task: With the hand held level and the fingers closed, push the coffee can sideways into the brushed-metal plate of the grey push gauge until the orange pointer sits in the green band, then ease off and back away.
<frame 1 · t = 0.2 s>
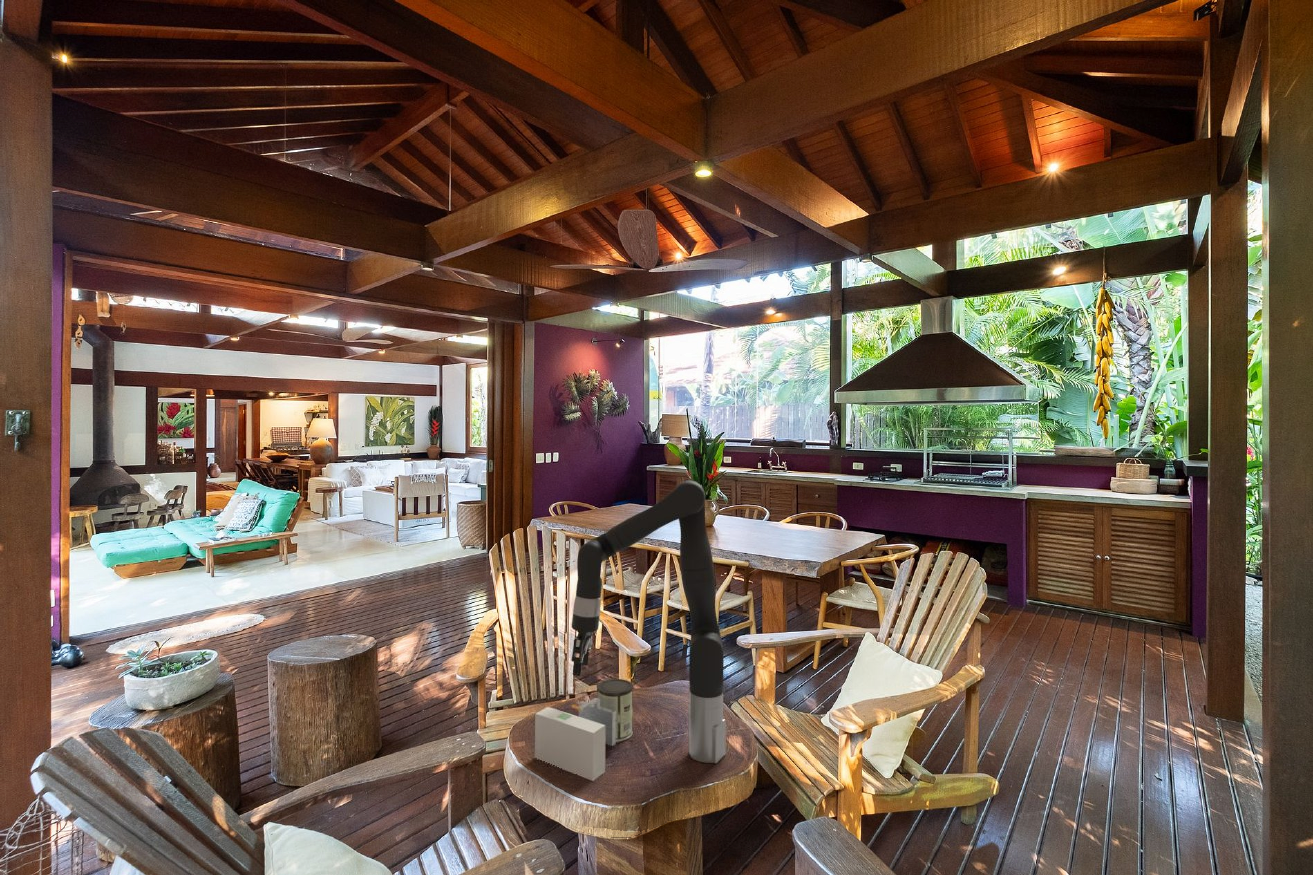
hand: (580, 669, 165), 22 cm above the table, tool pointing down, fingers open, 8 cm apart
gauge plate: (589, 723, 163), point 8 cm above the table, slide at 0.0 cm
coffee can: (615, 734, 173), on the table
gauge housing: (569, 764, 156), on the table
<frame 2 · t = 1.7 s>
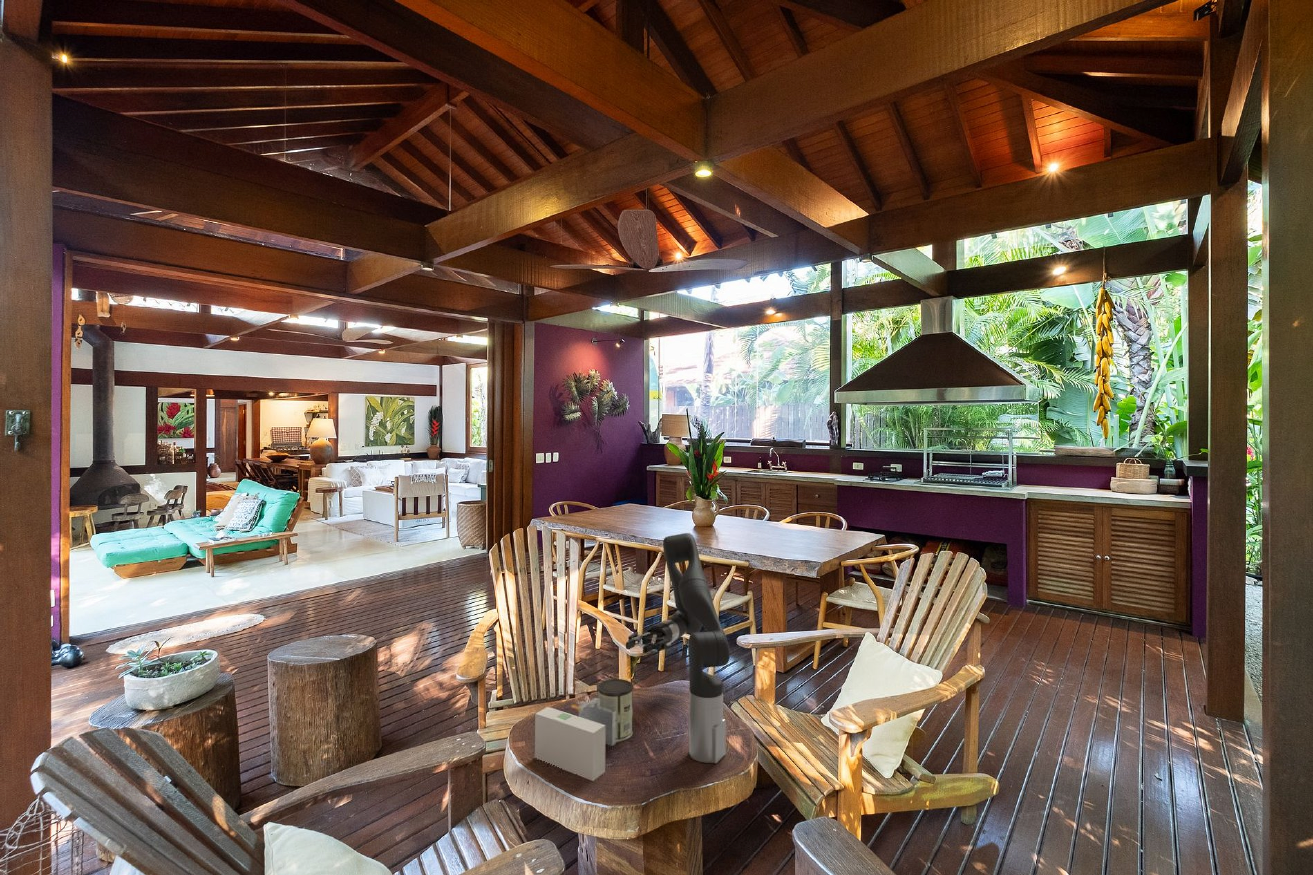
hand: (635, 648, 182), 22 cm above the table, tool horizontal, fingers open, 5 cm apart
nothing on the table moved.
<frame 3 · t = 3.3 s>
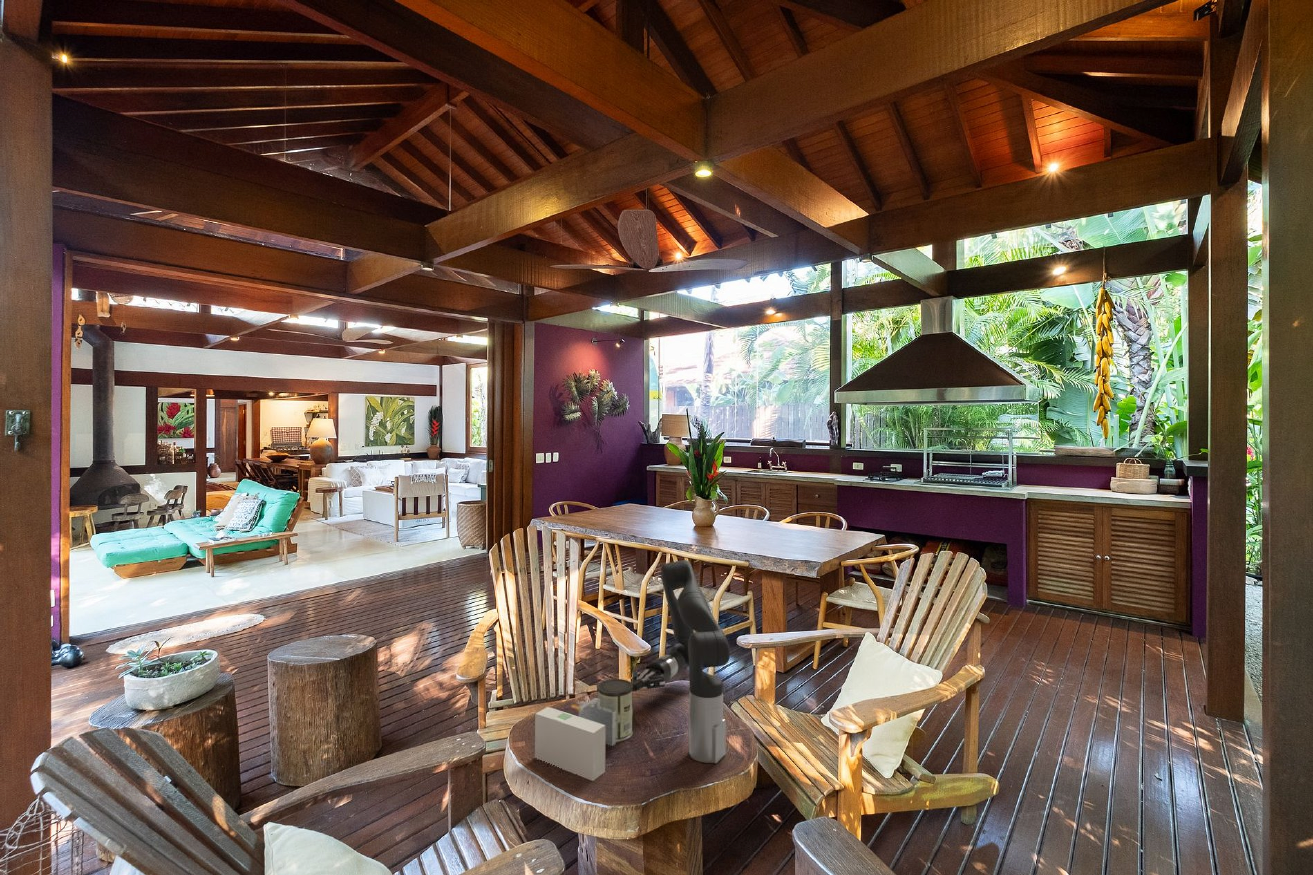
hand: (632, 687, 181), 10 cm above the table, tool horizontal, fingers closed
nothing on the table moved.
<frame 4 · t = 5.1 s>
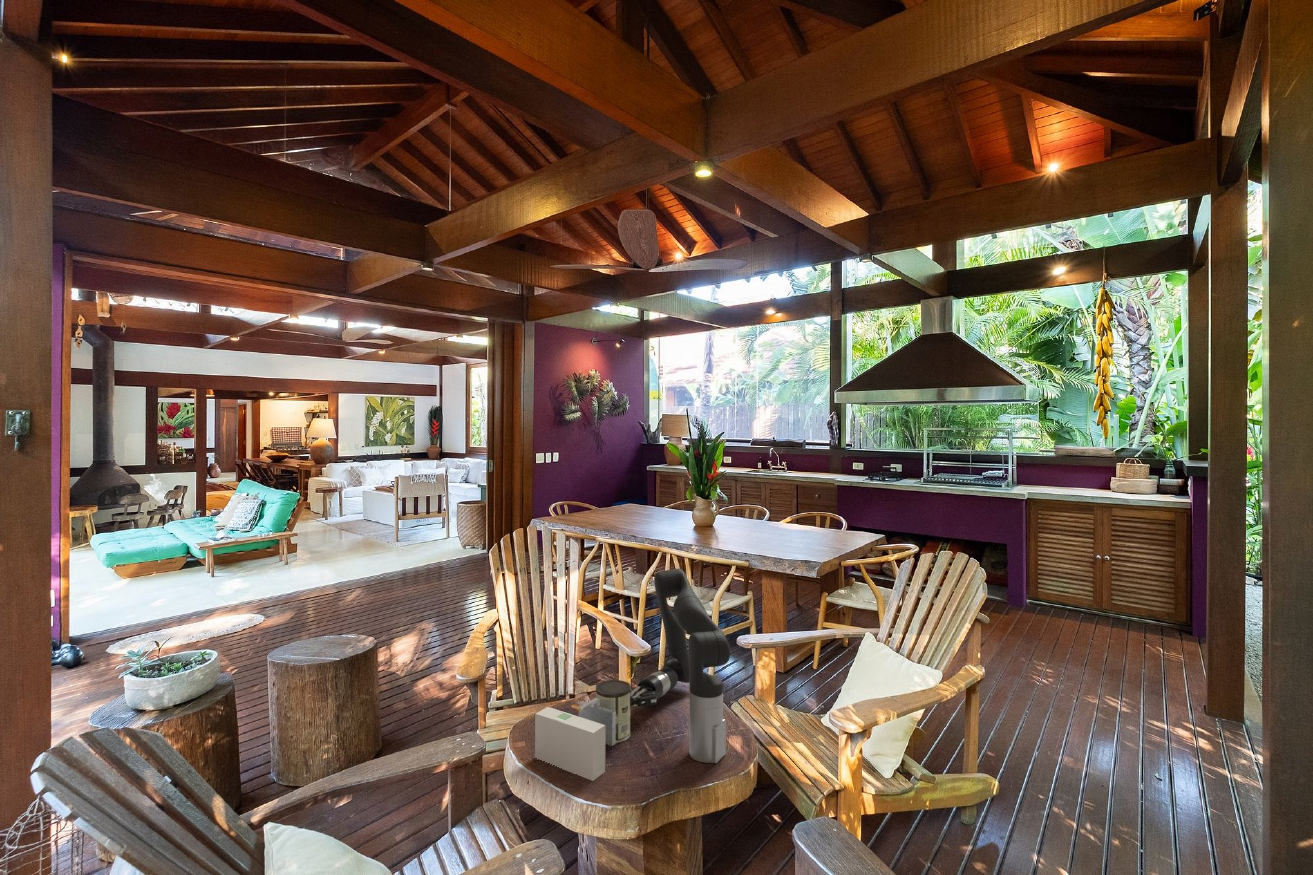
hand: (623, 705, 177), 7 cm above the table, tool horizontal, fingers closed
coffee can: (612, 735, 172), on the table, touching gripper
everything else where it was.
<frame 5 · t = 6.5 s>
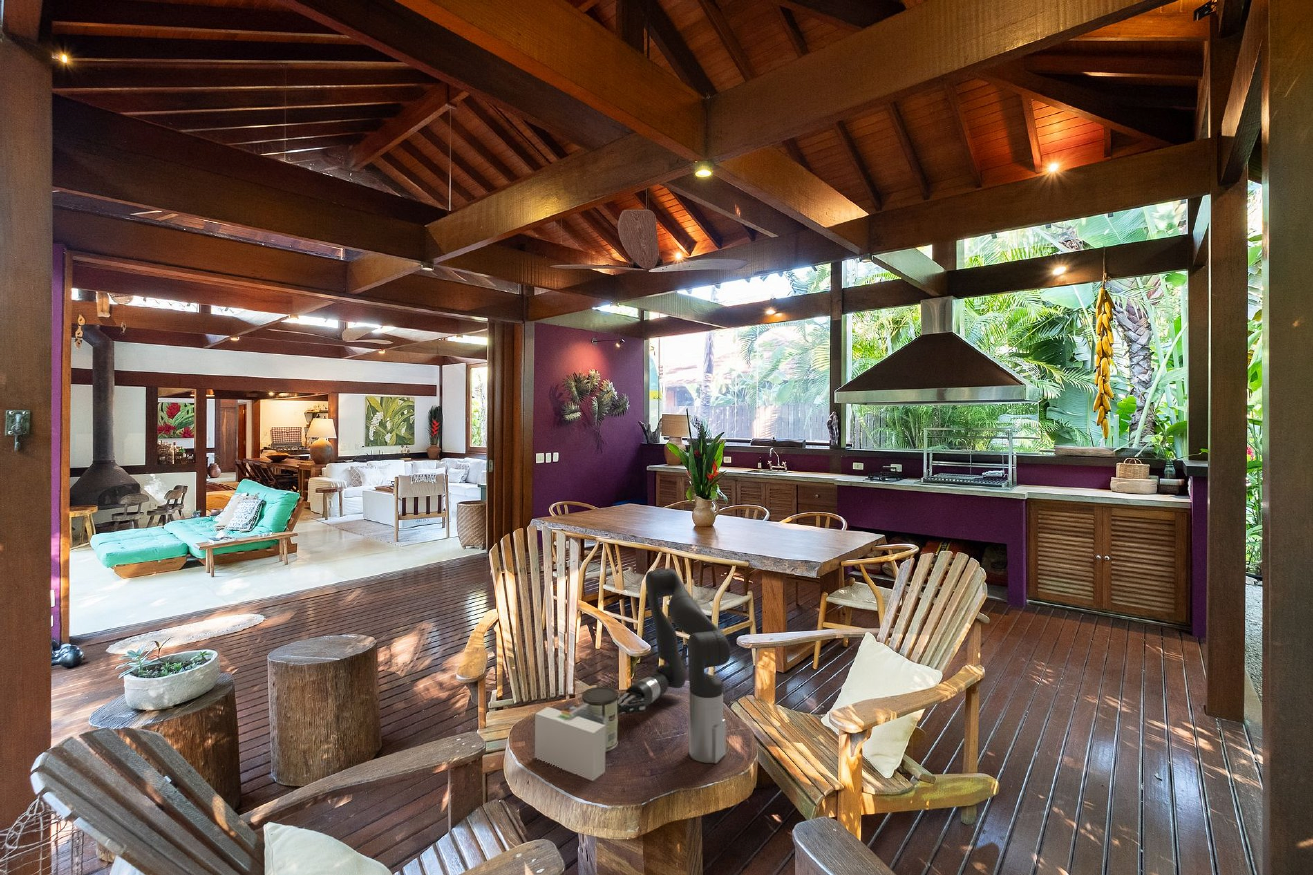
hand: (610, 713, 171), 7 cm above the table, tool horizontal, fingers closed
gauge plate: (579, 729, 159), point 8 cm above the table, slide at 4.2 cm, touching coffee can
coffee can: (599, 744, 167), on the table, touching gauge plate, gripper
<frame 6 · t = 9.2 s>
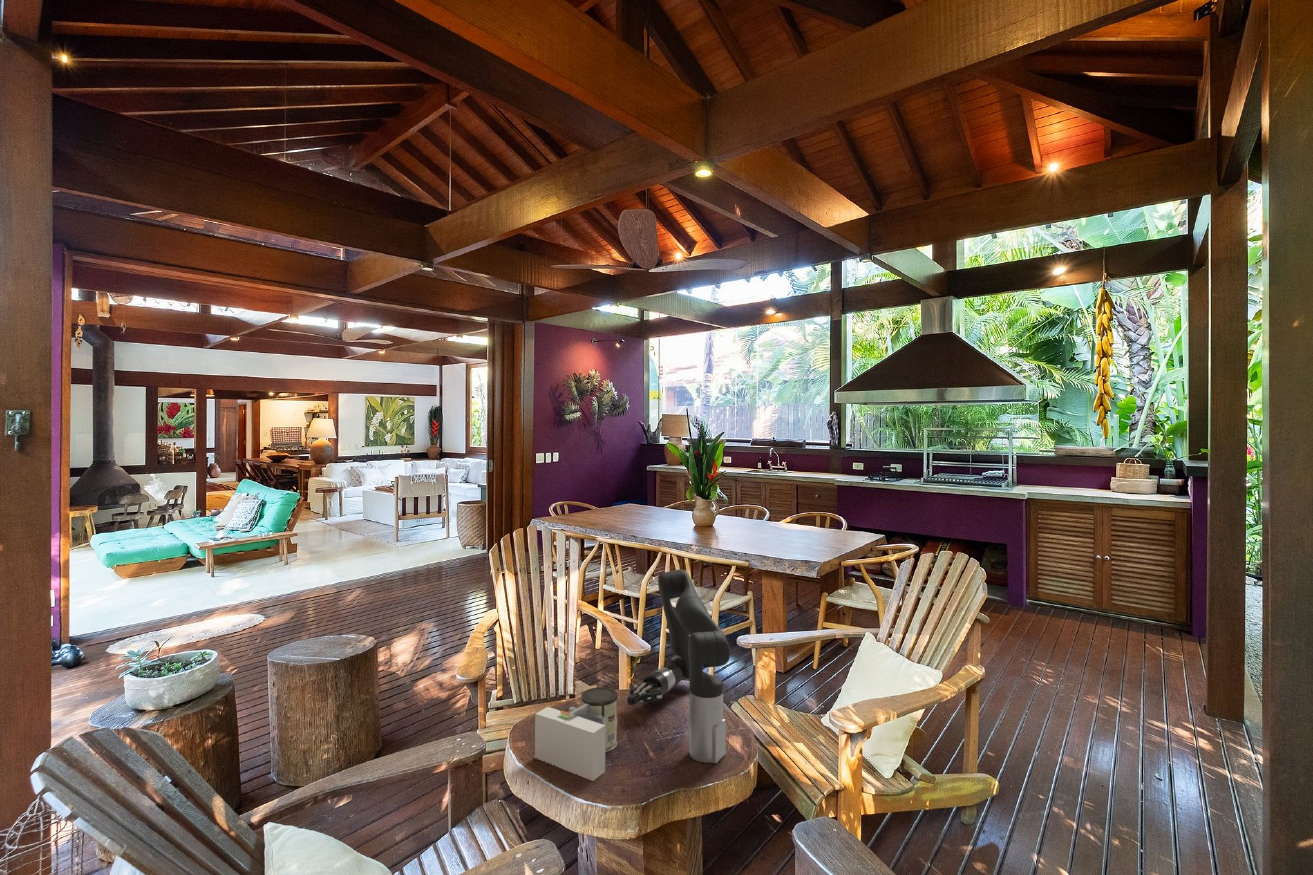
hand: (629, 701, 180), 6 cm above the table, tool horizontal, fingers closed
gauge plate: (579, 729, 159), point 8 cm above the table, slide at 4.4 cm
coffee can: (599, 744, 167), on the table
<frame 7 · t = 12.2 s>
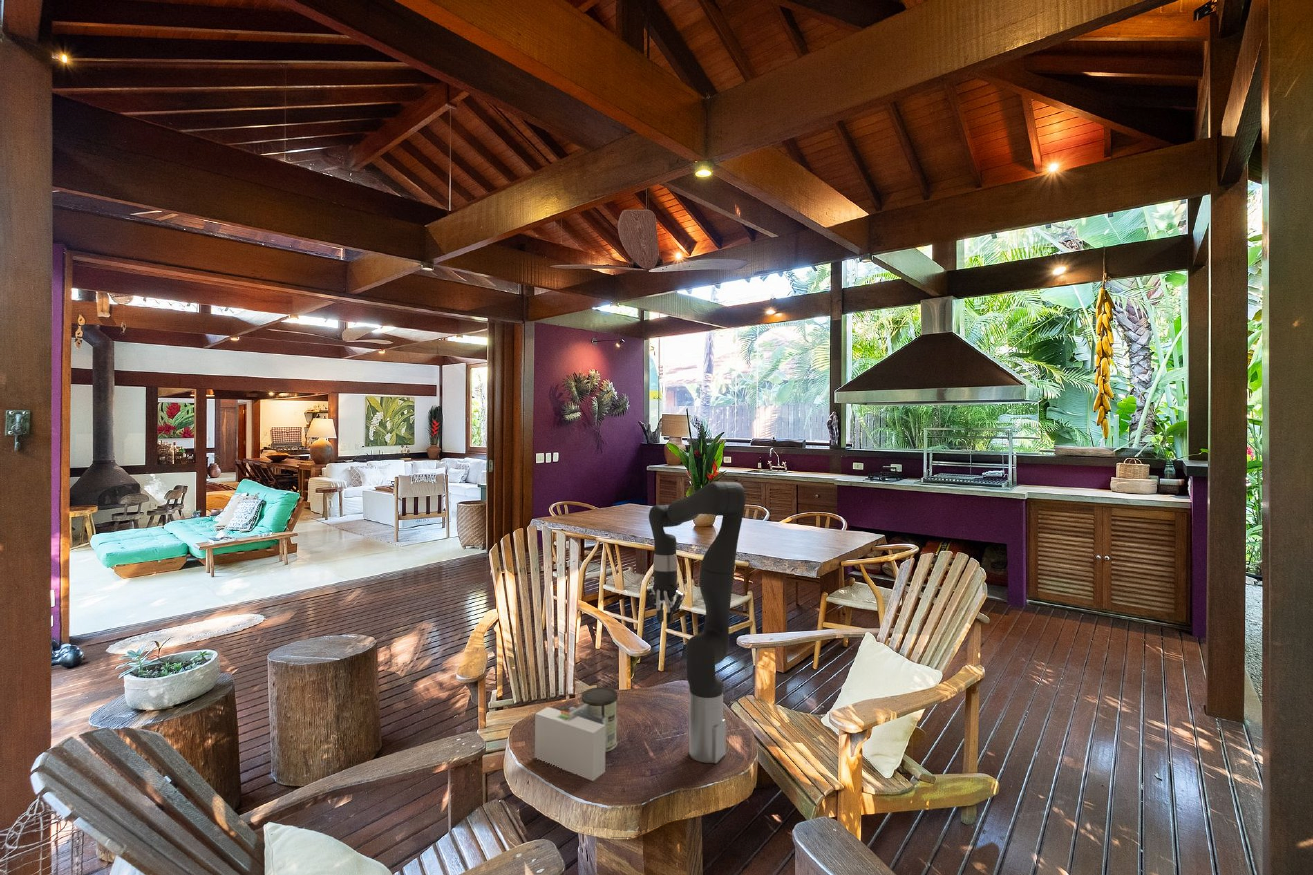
hand: (665, 622, 186), 29 cm above the table, tool pointing down, fingers closed
nothing on the table moved.
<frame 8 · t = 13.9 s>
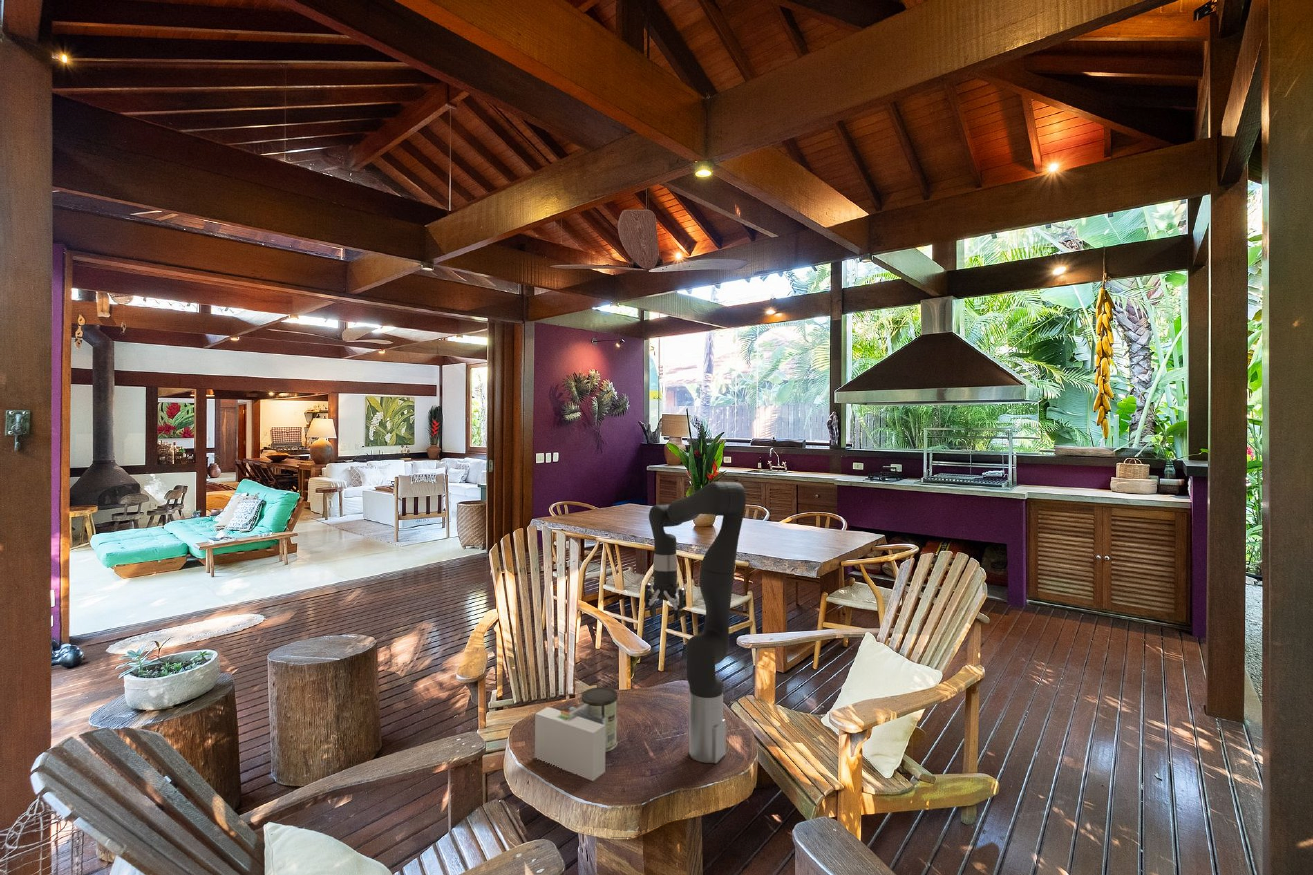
hand: (664, 619, 186), 30 cm above the table, tool pointing down, fingers open, 8 cm apart
nothing on the table moved.
at the end: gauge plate slide at 4.4 cm; coffee can tilted 0°; coffee can inside the target area (1.0 cm from its centre), on the table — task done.
